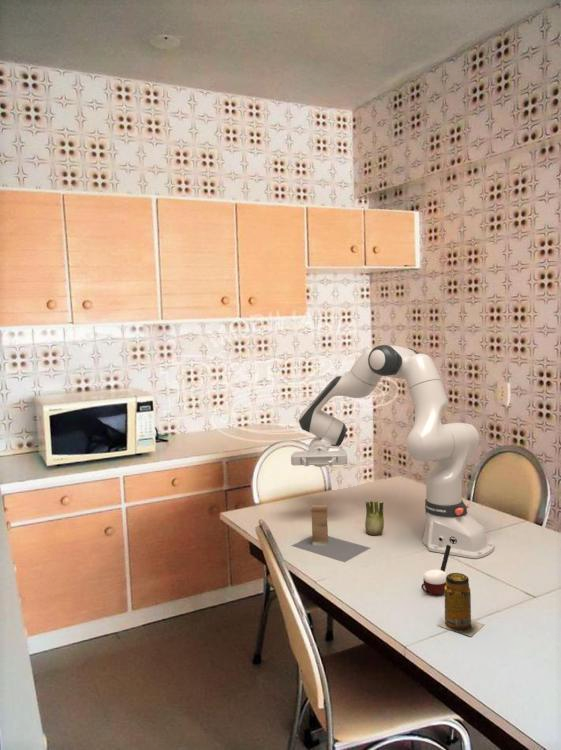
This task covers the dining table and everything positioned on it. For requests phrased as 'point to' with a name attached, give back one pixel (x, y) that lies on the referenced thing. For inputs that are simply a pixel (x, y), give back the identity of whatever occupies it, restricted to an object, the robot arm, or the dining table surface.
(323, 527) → the walnut block
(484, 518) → the dining table surface
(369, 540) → the dining table surface
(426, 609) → the dining table surface
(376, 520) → the fennel bulb
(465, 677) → the dining table surface
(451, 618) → the condiment
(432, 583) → the cocoa
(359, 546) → the felt mat
